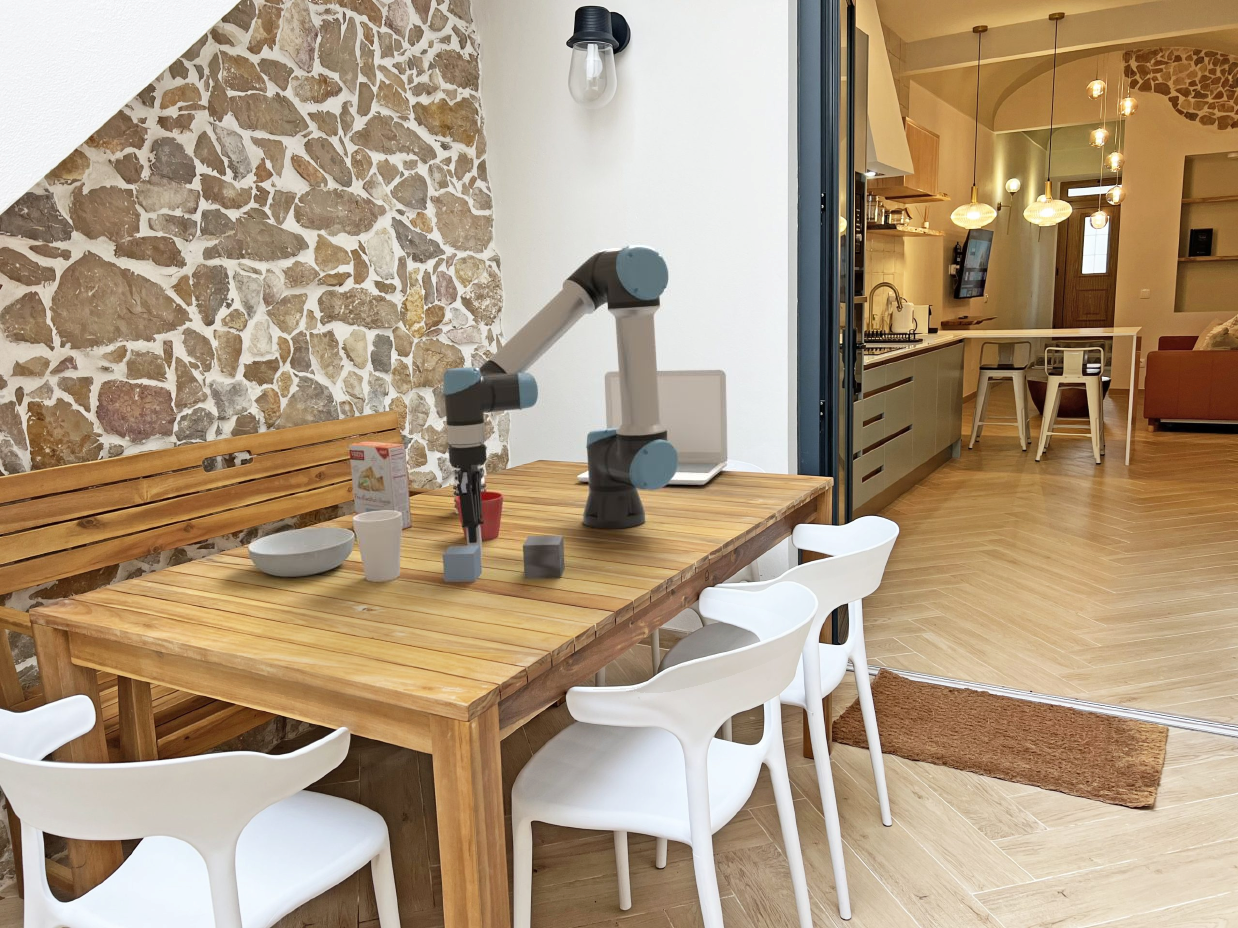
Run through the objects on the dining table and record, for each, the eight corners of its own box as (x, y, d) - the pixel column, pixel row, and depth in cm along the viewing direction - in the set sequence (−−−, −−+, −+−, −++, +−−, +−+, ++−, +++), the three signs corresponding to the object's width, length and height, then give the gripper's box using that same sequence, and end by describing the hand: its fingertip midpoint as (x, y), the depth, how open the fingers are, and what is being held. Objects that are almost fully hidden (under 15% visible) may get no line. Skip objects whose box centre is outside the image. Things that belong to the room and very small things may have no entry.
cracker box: (355, 527, 228) (347, 444, 224) (373, 521, 233) (366, 440, 229) (394, 533, 220) (387, 447, 216) (412, 527, 225) (406, 443, 221)
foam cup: (416, 574, 185) (411, 511, 182) (390, 588, 176) (384, 522, 174) (375, 571, 188) (370, 509, 186) (348, 584, 179) (342, 520, 177)
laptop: (575, 482, 274) (570, 379, 269) (610, 464, 303) (606, 371, 298) (705, 486, 261) (703, 378, 256) (728, 467, 290) (726, 369, 285)
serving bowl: (249, 566, 196) (246, 535, 195) (350, 552, 204) (347, 522, 203) (252, 593, 177) (248, 558, 176) (364, 576, 185) (360, 543, 184)
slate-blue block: (481, 574, 183) (479, 545, 182) (475, 583, 177) (473, 553, 176) (452, 575, 183) (450, 546, 182) (444, 584, 178) (442, 554, 177)
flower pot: (497, 543, 207) (494, 501, 205) (451, 542, 209) (448, 500, 207) (511, 531, 217) (509, 491, 215) (467, 531, 219) (465, 491, 217)
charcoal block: (564, 569, 184) (563, 535, 183) (560, 579, 178) (558, 544, 176) (530, 569, 185) (528, 536, 184) (524, 580, 178) (522, 545, 177)
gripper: (455, 440, 193) (464, 548, 197) (441, 450, 180) (450, 566, 184) (491, 438, 192) (498, 547, 197) (478, 448, 180) (487, 564, 184)
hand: (475, 556), depth 190 cm, fingers closed
